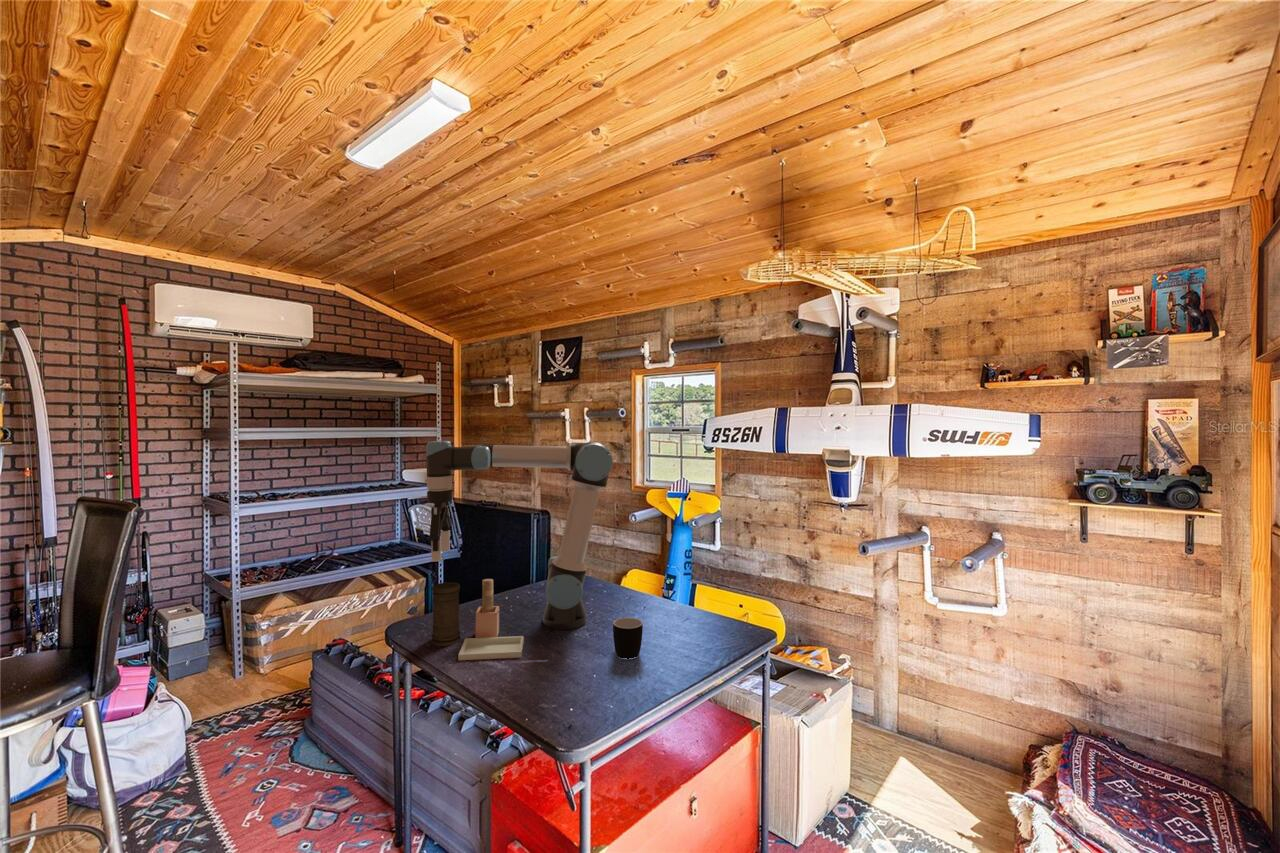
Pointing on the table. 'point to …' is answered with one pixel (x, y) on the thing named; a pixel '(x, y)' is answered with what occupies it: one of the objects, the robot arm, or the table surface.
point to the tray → (491, 648)
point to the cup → (487, 623)
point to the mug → (627, 637)
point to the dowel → (487, 595)
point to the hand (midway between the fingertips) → (441, 555)
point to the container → (445, 614)
